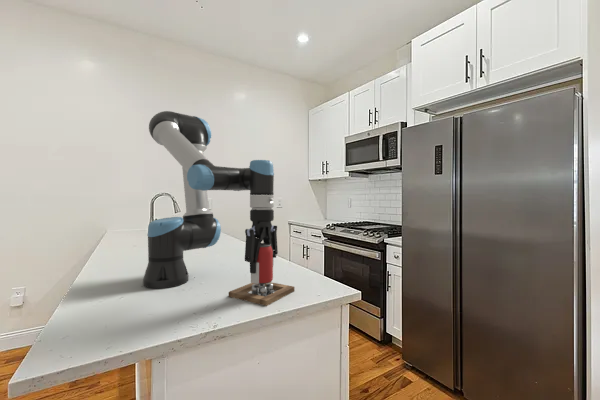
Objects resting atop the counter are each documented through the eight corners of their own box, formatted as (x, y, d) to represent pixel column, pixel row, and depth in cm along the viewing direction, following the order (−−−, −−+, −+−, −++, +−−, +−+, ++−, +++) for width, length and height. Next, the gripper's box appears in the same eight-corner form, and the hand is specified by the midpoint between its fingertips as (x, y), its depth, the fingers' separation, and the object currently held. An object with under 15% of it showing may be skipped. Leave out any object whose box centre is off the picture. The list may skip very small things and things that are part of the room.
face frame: (228, 296, 93) (228, 291, 93) (258, 284, 106) (258, 279, 106) (266, 305, 85) (266, 300, 85) (294, 291, 98) (294, 286, 98)
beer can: (275, 279, 98) (275, 243, 97) (269, 285, 91) (269, 246, 91) (256, 278, 99) (256, 242, 99) (249, 284, 93) (248, 245, 92)
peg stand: (250, 294, 94) (250, 285, 94) (261, 290, 99) (261, 281, 99) (263, 297, 92) (263, 288, 92) (274, 292, 96) (274, 283, 96)
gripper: (250, 210, 84) (251, 290, 85) (288, 207, 101) (288, 274, 102) (231, 209, 88) (232, 286, 89) (270, 207, 105) (271, 271, 106)
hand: (262, 280), depth 95 cm, fingers closed on beer can, 7 cm apart
